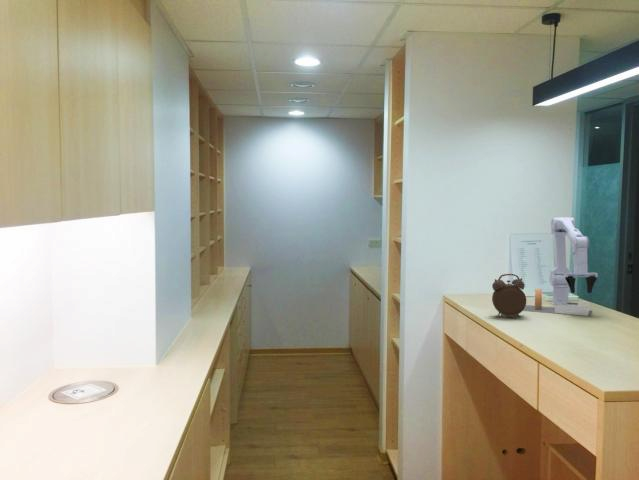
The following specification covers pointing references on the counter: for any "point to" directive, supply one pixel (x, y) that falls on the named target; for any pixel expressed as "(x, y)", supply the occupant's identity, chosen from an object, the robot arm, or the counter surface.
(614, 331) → the counter surface
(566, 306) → the hole block
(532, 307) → the rubber mat
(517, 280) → the alarm clock
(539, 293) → the pin
